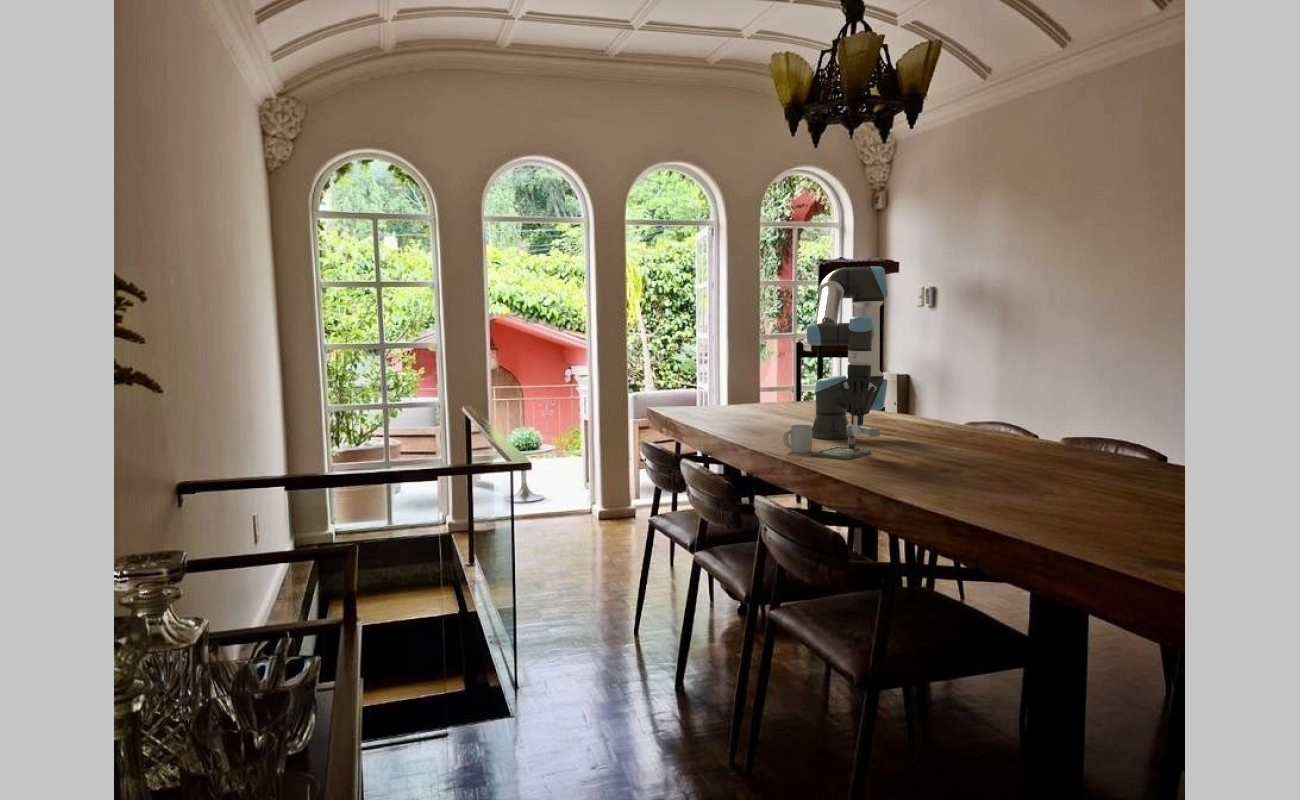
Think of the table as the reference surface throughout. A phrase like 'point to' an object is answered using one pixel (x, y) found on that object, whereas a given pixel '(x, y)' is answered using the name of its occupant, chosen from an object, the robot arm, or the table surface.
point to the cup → (799, 438)
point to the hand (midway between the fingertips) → (856, 434)
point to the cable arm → (864, 431)
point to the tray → (843, 451)
